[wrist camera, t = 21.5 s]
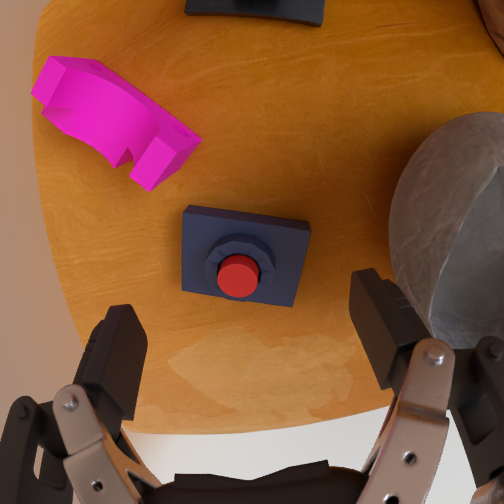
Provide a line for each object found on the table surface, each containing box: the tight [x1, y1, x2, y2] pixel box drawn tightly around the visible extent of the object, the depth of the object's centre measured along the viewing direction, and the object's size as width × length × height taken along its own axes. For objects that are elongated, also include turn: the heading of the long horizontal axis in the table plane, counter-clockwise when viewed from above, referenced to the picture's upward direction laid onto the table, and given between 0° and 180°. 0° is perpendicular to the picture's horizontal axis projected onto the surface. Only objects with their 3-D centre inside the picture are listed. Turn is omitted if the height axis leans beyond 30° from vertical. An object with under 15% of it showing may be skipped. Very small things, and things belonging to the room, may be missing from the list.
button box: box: [182, 205, 311, 307], centre depth 29 cm, size 12×9×4 cm
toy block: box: [31, 56, 202, 192], centre depth 22 cm, size 15×6×8 cm, turn 49°
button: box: [217, 255, 259, 297], centre depth 27 cm, size 4×4×2 cm
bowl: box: [388, 112, 504, 349], centre depth 20 cm, size 20×20×15 cm
